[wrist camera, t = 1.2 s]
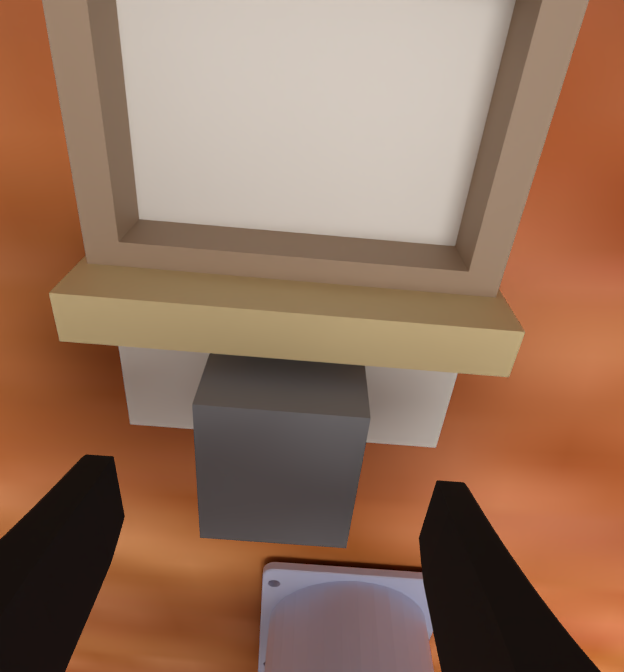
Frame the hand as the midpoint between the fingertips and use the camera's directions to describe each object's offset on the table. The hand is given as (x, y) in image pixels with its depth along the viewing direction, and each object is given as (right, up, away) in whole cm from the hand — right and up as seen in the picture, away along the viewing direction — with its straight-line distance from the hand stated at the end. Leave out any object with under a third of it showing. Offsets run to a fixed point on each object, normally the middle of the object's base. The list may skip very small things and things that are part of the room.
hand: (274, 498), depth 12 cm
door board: (0, +6, +2) cm, 7 cm away
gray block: (0, +2, +4) cm, 5 cm away
